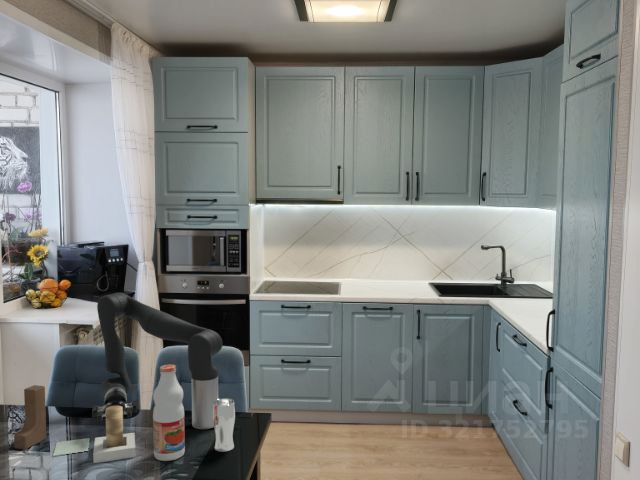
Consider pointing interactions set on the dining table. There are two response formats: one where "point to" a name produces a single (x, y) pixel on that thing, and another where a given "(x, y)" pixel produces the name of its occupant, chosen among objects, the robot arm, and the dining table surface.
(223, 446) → the beer glass
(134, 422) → the dining table surface
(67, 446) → the sage mat
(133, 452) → the white square frame
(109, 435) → the wooden peg
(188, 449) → the dining table surface
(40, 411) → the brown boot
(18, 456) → the dining table surface
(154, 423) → the fruit juice
